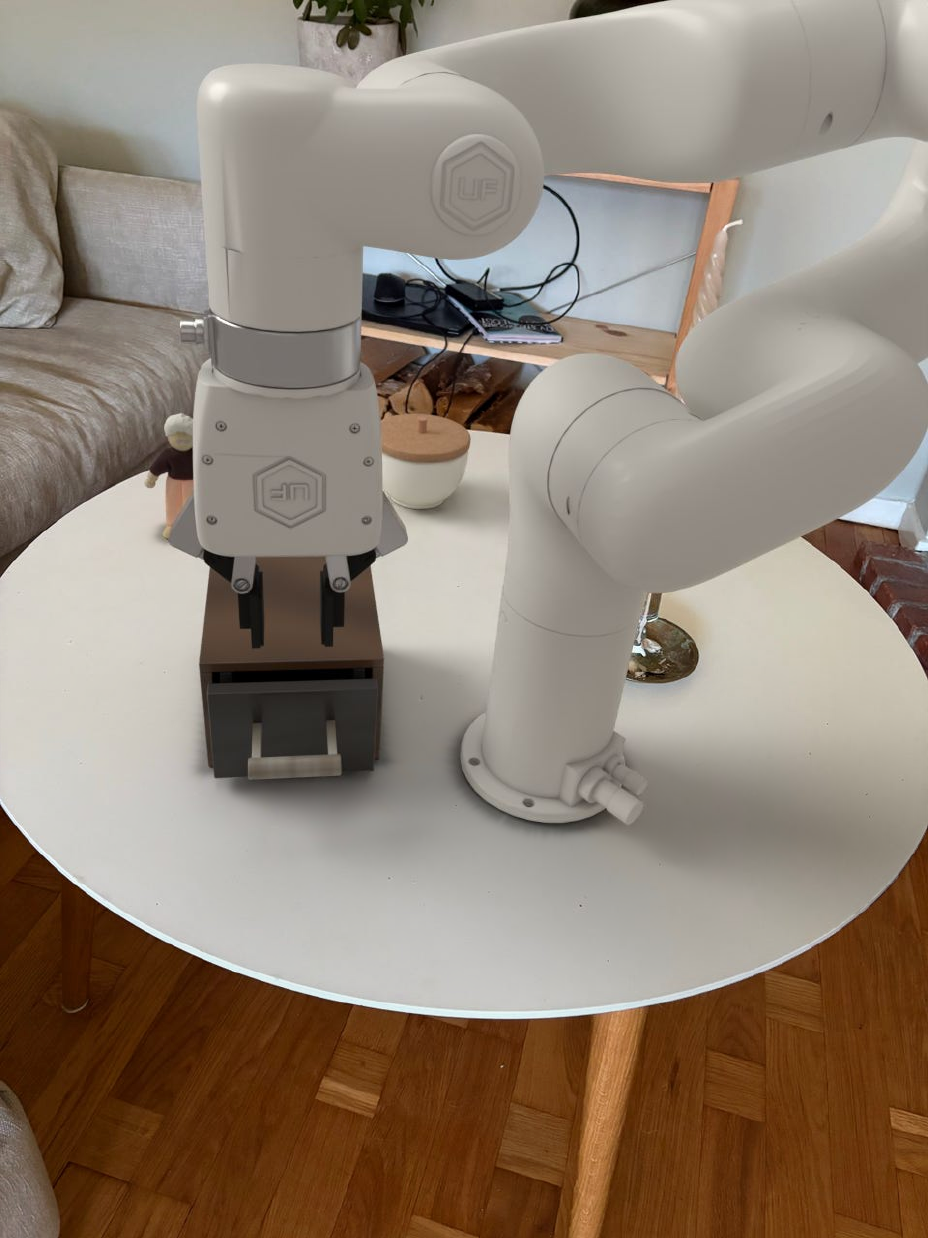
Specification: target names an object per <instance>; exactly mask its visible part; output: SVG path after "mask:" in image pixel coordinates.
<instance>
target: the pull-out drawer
mask: <svg viewBox="0 0 928 1238" xmlns="http://www.w3.org/2000/svg"><path fill="white" fill-rule="evenodd" d="M377 694H378V687H377V680H376V679H365V668H341V669H305V670H269V671H233V672H220V683H211V684H208V689H207V700H208V712H209V724H210V735H211V747H212V759H213V766H212V768H213V769H212V770H213V778H214V779H229V778H230V779H232V778H248V780H249V781H250V780H270V779H273V780H274V779H290V778H291V779H292V778H294V779H295V778H313V777H333V776H334V777H335V776H336V777H337V776H341V775H342V773H356V772H357V773H358V772H359V773H361V772H374V771H375V760H376V759H375V738H376V716H377Z"/></svg>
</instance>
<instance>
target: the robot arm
mask: <svg viewBox="0 0 928 1238" xmlns="http://www.w3.org/2000/svg"><path fill="white" fill-rule="evenodd" d="M196 125H197V126H196V127H197V143H198V158H199V173H200V174H199V175H200V188H201V189H200V190H201V202H202V203H201V204H202V217H203V235H204V249H205V264H206V280H207V289H208V292H207V296H208V308H209V309H204V312H203V315H196V316H195V318H189V317H188V318H187V317H185V318H184V317H181V318H180V322H179V331H180V343H181V346H189V347H190V346H193V347H195V346H196V348H197V349H198V350H204V352H205V355H206V356H210V358H208V359H207V360H205V362H203V363H202V365H201V367H200V370H199V371H198V374H197V379H196V384H195V392H194V403H193V411H192V412H193V414H192V416H193V417H192V419H193V481H194V490H193V491H192V493H191V495H190V496H189V498H188V499H187V501H186V503H185V504H184V506H183V507H182V509H181V511H180V512H179V514H178V516H177V517H176V519H175V520H174V522H173V524H172V525H171V528H170V532H169V538H168V539H167V540H168V544H169V545H170V546H171V547H173V548H174V549H177V550H179V551H181V552H183V553H185V554H187V555H189V556H192V557H194V558H196V559H198V558H199V559H200V560H203V562H204V563H205V565H207V566H208V567H209V568H210V567H211V568H212V569H213V570H215V571H216V572H217V573H219V574H220V575H221V576H222V577H224V578H225V579H226V580H228V581H229V582H230V583H231V587H232V589H233V590H234V591H235V592H237V593H238V607H239V625H240V629H251V640H252V649H258V648H261V646H264V595H263V571H259V566H258V565H257V564H256V557H325V558H326V564H325V565H324V566H323V571H320V630H321V645H325V647H333V627H344V610H345V591H347V590H348V589H349V588H350V585H351V581H352V580H353V579H355V578H356V577H357V576H358V575H359V574H361V573H362V572H363V571H364V570H365V569H367V568H368V567H369V566H370V565H371V566H372V565H373V564H374V563H375V562H376V560H377V559H378V558H380V557H382V558H383V557H385V556H387V555H388V554H390V553H393V552H395V551H396V550H398V549H400V548H402V547H404V546H406V545H407V543H408V541H409V536H408V532H407V527H406V525H405V523H404V522H403V520H402V519H401V517H400V516H399V514H398V512H397V510H396V508H394V505H393V504H392V502H391V500H390V499H389V498H388V496H387V495H386V492H385V491H384V489H383V475H382V437H381V421H380V420H381V413H380V403H379V396H378V390H377V385H376V379H375V377H374V375H373V374H372V371H371V369H370V367H369V366H367V365H366V364H365V363H363V362H362V361H361V355H362V319H363V318H362V314H363V313H362V310H363V306H362V305H363V278H364V277H363V275H364V274H363V273H364V272H363V271H364V247H367V248H374V249H380V250H387V251H393V252H398V253H403V254H404V253H405V254H409V255H413V256H421V257H424V258H431V259H440V260H449V261H460V260H462V261H463V260H472V259H477V258H481V257H485V256H488V255H490V254H493V253H495V252H498V251H499V250H501V249H504V248H505V247H506V246H508V245H510V244H511V243H513V241H515V240H516V239H517V238H518V237H519V236H520V235H521V234H522V233H523V232H524V231H525V229H526V228H527V227H528V226H529V224H530V223H531V221H532V219H533V218H534V216H535V214H536V213H537V210H538V208H539V206H540V202H541V198H542V195H543V189H544V186H545V185H544V184H545V177H549V176H557V175H570V174H572V175H573V174H602V175H612V176H619V177H620V176H621V177H627V178H632V179H639V180H645V181H652V182H658V183H668V184H670V183H671V184H715V183H723V182H726V181H731V180H734V179H738V178H741V177H745V176H749V175H752V174H755V173H759V172H762V171H767V170H770V169H774V168H777V167H781V166H784V165H787V164H791V163H795V162H799V161H802V160H806V159H809V158H813V157H817V156H819V155H820V156H821V155H823V154H828V153H831V152H836V151H838V150H843V149H847V148H851V147H854V146H858V145H862V144H865V143H868V142H869V143H870V142H873V141H876V140H882V139H888V138H889V139H890V138H910V139H914V140H915V142H914V144H913V146H912V148H911V150H910V153H909V155H908V157H907V160H906V162H905V165H904V168H903V170H902V173H901V176H900V177H899V180H898V183H897V185H896V187H895V190H894V192H893V194H892V196H891V198H890V200H889V202H888V204H887V205H886V207H885V209H884V211H883V212H882V214H881V215H880V217H879V218H878V220H877V221H876V223H875V224H874V225H873V226H872V227H871V228H870V229H869V230H868V231H867V232H866V233H865V234H864V235H862V236H861V237H859V238H858V239H856V240H854V241H853V242H851V243H850V244H848V245H846V246H844V247H842V248H841V249H839V250H837V251H835V252H834V253H832V254H830V255H828V256H826V257H824V258H821V259H819V260H817V261H815V262H813V263H811V264H809V265H806V266H803V267H802V268H800V269H797V270H796V271H793V272H791V273H789V274H787V275H784V276H783V277H780V278H779V279H775V280H773V281H772V282H769V283H767V284H765V285H763V286H761V287H758V288H757V289H755V290H753V291H750V292H748V293H745V294H743V295H742V296H739V297H737V298H735V299H733V300H731V301H729V302H727V303H725V304H723V305H722V306H720V307H718V308H716V309H715V310H714V311H712V312H711V313H709V314H708V315H706V316H704V317H703V318H702V319H701V320H699V321H698V322H697V323H696V324H695V325H694V326H693V327H692V328H691V329H690V331H689V332H688V333H687V335H686V336H685V337H684V339H683V341H682V343H681V344H680V346H679V349H678V350H677V353H676V358H675V364H674V376H675V383H676V386H677V390H678V392H679V394H680V396H681V398H682V400H683V402H684V403H683V402H682V401H681V400H680V399H679V398H677V397H676V396H675V395H674V394H672V393H671V392H670V391H669V390H667V389H666V388H665V387H664V386H662V385H661V384H660V383H659V382H657V380H656V379H654V378H653V377H651V376H650V375H649V374H648V373H646V372H645V371H643V370H641V369H640V368H638V367H637V366H635V365H634V364H632V363H630V362H628V361H626V360H624V359H621V358H618V357H616V356H613V355H611V354H604V353H597V352H596V353H595V352H586V353H577V354H573V355H569V356H565V357H564V358H562V359H559V360H557V361H555V362H553V363H551V364H549V365H548V366H547V367H546V368H544V369H543V370H542V371H540V372H539V373H538V375H536V377H535V378H534V379H533V380H531V382H530V384H529V385H528V386H527V388H526V389H525V390H524V393H522V396H521V398H520V399H519V402H518V403H517V406H516V408H515V411H514V414H513V417H512V422H511V427H510V433H509V442H508V491H509V492H508V493H509V495H508V497H509V520H508V521H509V523H508V524H509V525H508V539H507V549H506V550H507V552H506V560H505V568H504V574H503V575H504V576H503V584H502V587H501V595H500V603H499V610H498V618H497V625H496V631H495V632H496V633H495V640H494V648H493V655H492V664H491V671H490V679H489V685H488V686H489V687H488V693H487V702H486V710H485V711H484V712H482V713H481V714H480V715H478V716H477V717H476V718H475V719H473V721H472V722H471V723H470V724H469V725H468V727H467V728H466V730H465V732H464V734H463V737H462V740H461V745H460V755H459V756H460V765H461V770H462V772H463V774H464V777H465V779H466V781H467V782H468V784H469V785H470V786H471V787H472V789H473V790H474V792H475V793H477V794H478V795H479V796H480V797H481V798H482V799H483V800H484V801H486V802H487V803H489V804H491V806H493V807H495V808H496V809H498V810H499V811H502V812H504V813H507V814H508V815H511V816H513V817H517V818H520V819H524V820H527V821H531V822H537V823H544V824H565V823H570V822H571V823H573V822H579V821H581V820H585V819H587V818H591V817H593V816H595V815H597V814H599V813H601V812H603V811H604V810H605V809H606V811H607V812H608V813H609V814H611V815H612V816H613V817H615V818H616V819H618V820H619V821H621V822H622V823H624V824H625V825H626V826H630V825H632V824H634V822H635V821H636V820H637V819H638V818H639V816H640V815H641V813H642V811H643V809H644V802H643V801H642V800H640V799H639V798H637V797H638V796H641V795H642V794H643V793H644V792H645V790H646V789H647V788H648V784H649V780H648V779H647V778H645V777H644V776H642V775H641V774H639V773H638V772H637V771H635V770H634V769H630V768H629V767H628V766H626V758H625V755H624V753H623V750H624V746H625V743H626V738H625V737H624V736H623V735H621V734H619V733H618V732H616V731H615V727H616V722H617V717H618V713H619V709H620V706H621V701H622V696H623V693H624V688H625V684H626V680H627V675H628V671H629V666H630V662H631V657H632V654H633V649H634V645H635V641H636V637H637V631H638V628H639V624H640V619H641V615H642V613H643V609H644V605H645V600H646V596H647V594H667V593H673V592H678V591H683V590H685V589H686V590H687V589H689V588H690V589H691V588H693V587H695V586H699V585H701V584H703V583H706V582H708V581H710V580H713V579H715V578H717V577H720V576H722V575H724V574H726V573H729V572H730V571H732V570H734V569H737V568H739V567H740V566H743V565H745V564H748V563H749V562H751V561H754V560H756V559H757V558H759V557H762V556H764V555H766V554H768V553H769V552H772V551H774V550H775V549H778V548H780V547H782V546H784V545H787V544H789V543H790V542H793V541H795V540H797V539H799V538H801V537H803V536H805V535H807V534H810V533H811V532H813V531H815V530H816V531H817V529H819V528H822V527H824V526H826V525H828V524H830V523H832V522H834V521H837V520H838V519H840V518H842V517H844V516H845V515H848V514H849V513H852V512H853V511H855V510H857V509H859V508H860V507H862V506H864V505H865V504H866V503H868V502H869V501H871V500H873V499H874V498H875V497H876V496H878V495H879V494H880V493H882V492H883V491H884V490H885V489H886V488H888V486H890V485H891V484H892V483H893V482H894V481H895V480H896V478H897V477H898V476H899V475H900V474H901V473H902V472H903V471H904V470H905V469H906V468H907V466H908V465H909V464H910V462H911V461H912V459H913V458H914V457H915V455H916V454H917V453H918V450H919V449H920V447H921V445H922V443H923V441H924V439H925V437H926V435H927V432H928V380H927V378H926V375H925V374H924V371H923V370H922V368H921V367H920V365H919V364H920V363H921V362H923V361H925V360H926V359H928V0H664V1H658V2H652V3H647V4H642V5H637V6H633V7H628V8H624V9H620V10H616V11H612V12H606V13H602V14H597V15H590V16H585V17H578V18H572V19H566V20H560V21H554V22H548V23H543V24H542V23H541V24H537V25H531V26H526V27H520V28H516V29H515V28H514V29H511V30H506V31H500V32H496V33H491V34H488V35H487V34H486V35H483V36H478V37H475V38H469V39H466V40H461V41H458V42H454V43H449V44H445V45H441V46H436V47H433V48H432V47H431V48H428V49H424V50H420V51H417V52H413V53H408V54H406V55H402V56H399V57H395V58H393V59H391V60H389V61H386V62H384V63H383V64H380V65H379V66H378V67H376V68H374V69H373V70H371V71H370V72H369V73H367V75H366V76H364V77H363V78H362V79H361V81H360V82H358V84H357V85H356V86H355V85H354V84H353V83H352V82H351V81H350V80H348V79H347V78H345V77H343V76H342V75H339V74H337V73H334V72H329V71H325V70H322V69H316V68H311V67H304V66H299V65H298V66H297V65H288V64H277V63H275V64H274V63H237V64H226V65H223V66H219V67H217V68H215V69H212V70H211V71H210V72H208V74H206V75H205V76H204V78H203V80H202V81H201V83H200V84H199V88H198V91H197V97H196ZM622 786H623V787H624V788H626V789H628V791H630V792H631V793H630V792H628V791H627V790H625V789H624V788H623V787H622ZM632 793H633V794H635V795H636V796H637V797H636V796H634V795H633V794H632Z"/></svg>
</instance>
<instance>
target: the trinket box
mask: <svg viewBox="0 0 928 1238" xmlns="http://www.w3.org/2000/svg"><path fill="white" fill-rule="evenodd" d="M380 421H381V437H382V475H383V491H384V492H385V493H387V494H388V496H390V499H391V500H392V502H394V503H395V504H396V505H398V506H401V507H403V508H407V509H412V510H429V509H433V508H437V507H439V506H440V505H442V504H443V502H444V501H445V500H446V499H447V498H449V497H450V496H452V495H453V493H454V492H455V491H456V490H457V489H458V487H459V486H460V484H461V482H462V480H463V477H464V475H465V472H466V468H467V464H468V458H469V450H470V446H471V440H472V439H471V435H470V432H469V431H468V430H467V428H466V427H464V426H463V425H462V424H460V423H458V422H456V421H454V420H452V419H450V418H446V417H443V416H440V415H434V414H429V413H428V414H427V413H401V414H395V415H391V416H387V417H385V418H382V419H380Z"/></svg>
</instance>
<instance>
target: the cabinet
mask: <svg viewBox="0 0 928 1238" xmlns="http://www.w3.org/2000/svg"><path fill="white" fill-rule="evenodd" d="M256 564H257V565H258V566H259V571H263V595H264V646H261V648H258V649H252V640H251V629H240V625H239V607H238V593H237V592H235V591H234V590H233V589H232V587H231V583H230V582H229V581H228V580H226V579H225V578H224V577H222V576H221V575H220V574H219V573H217V572H216V571H215V570H213V569H212V568H211V567H209V569H208V579H207V588H206V597H205V605H204V606H205V607H204V615H203V623H202V634H201V642H200V652H199V659H198V668H199V681H200V692H201V702H202V704H201V705H202V713H203V714H202V715H203V725H204V737H205V747H206V757H207V766H208V767H213V759H212V747H211V735H210V724H209V712H208V700H207V689H208V684H211V683H220V672H233V671H269V670H305V669H341V668H365V679H376V680H377V687H378V694H377V716H376V738H375V760H379V759H380V754H381V753H380V752H381V751H380V750H381V730H382V713H383V712H382V710H383V693H384V692H383V689H384V673H385V671H384V669H385V667H384V666H385V655H384V648H383V642H382V634H381V628H380V620H379V614H378V608H377V601H376V600H377V599H376V594H375V587H374V586H375V585H374V580H373V579H374V578H373V572H372V565H370V566H369V567H368V568H367V569H365V570H364V571H363V572H362V573H361V574H359V575H358V576H357V577H356V578H355V579H353V580H352V581H351V585H350V588H349V589H348V590H347V591H345V610H344V627H333V647H325V645H321V630H320V571H323V566H324V565H325V564H326V558H325V557H256Z"/></svg>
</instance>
